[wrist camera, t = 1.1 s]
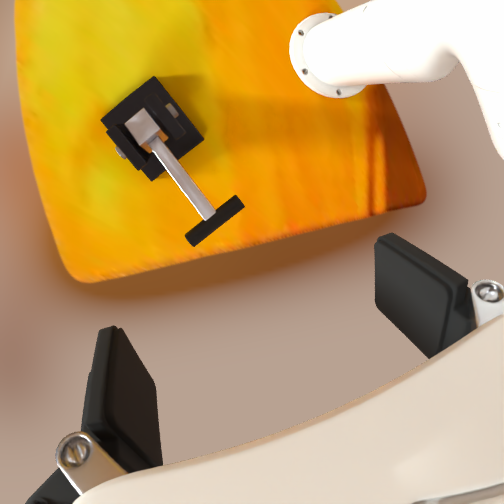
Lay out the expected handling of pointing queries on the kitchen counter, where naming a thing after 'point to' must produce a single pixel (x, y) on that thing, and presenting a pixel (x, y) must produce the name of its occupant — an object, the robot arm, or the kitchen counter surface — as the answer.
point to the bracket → (165, 115)
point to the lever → (181, 177)
